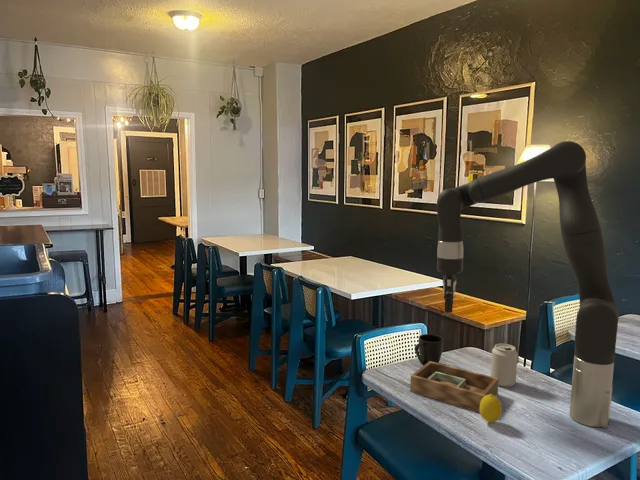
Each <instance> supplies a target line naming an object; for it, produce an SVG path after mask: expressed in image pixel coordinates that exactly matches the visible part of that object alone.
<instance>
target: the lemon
mask: <svg viewBox="0 0 640 480" xmlns="http://www.w3.org/2000/svg"><path fill="white" fill-rule="evenodd" d="M502 407H503V406H502V403H501V401H500V399H499V398H498V397H497V396H494V395H492V394H490V395H486V396H484V397H483V398H482V400H481V402H480V412H479V413H480V416H481V418H483V419H484V420H485V422H488V423H489V424H491V423H495V422H496V421H498V420H499V419H500V417H502V416H501V415H502V412H503V409H502Z"/></svg>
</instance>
